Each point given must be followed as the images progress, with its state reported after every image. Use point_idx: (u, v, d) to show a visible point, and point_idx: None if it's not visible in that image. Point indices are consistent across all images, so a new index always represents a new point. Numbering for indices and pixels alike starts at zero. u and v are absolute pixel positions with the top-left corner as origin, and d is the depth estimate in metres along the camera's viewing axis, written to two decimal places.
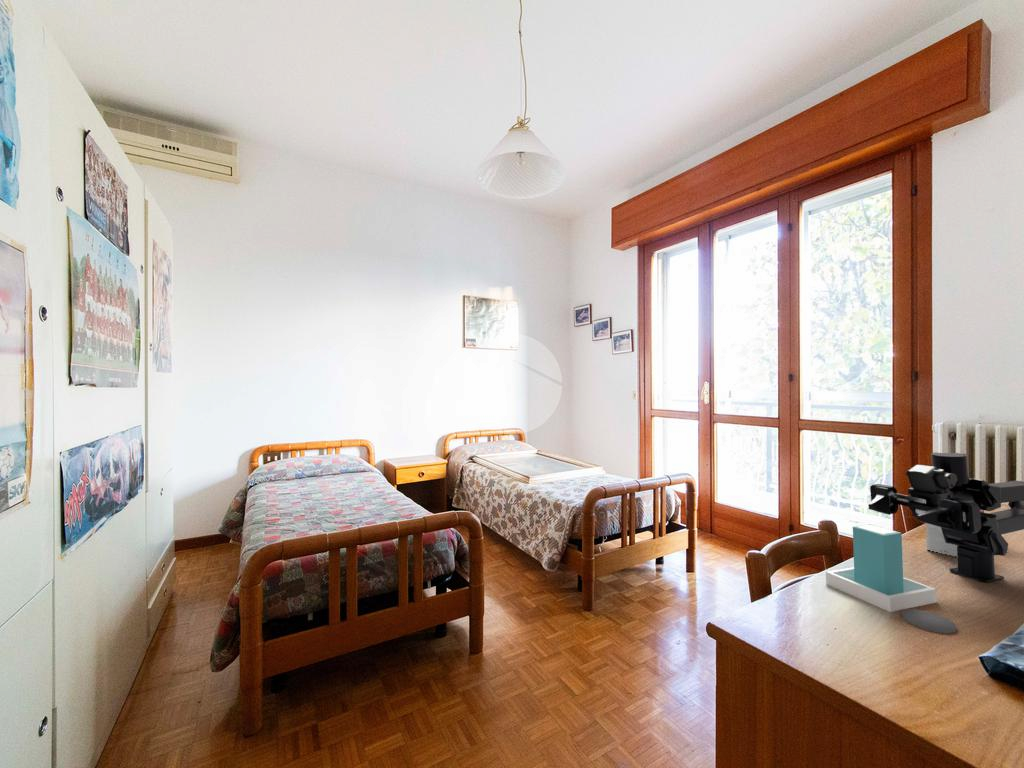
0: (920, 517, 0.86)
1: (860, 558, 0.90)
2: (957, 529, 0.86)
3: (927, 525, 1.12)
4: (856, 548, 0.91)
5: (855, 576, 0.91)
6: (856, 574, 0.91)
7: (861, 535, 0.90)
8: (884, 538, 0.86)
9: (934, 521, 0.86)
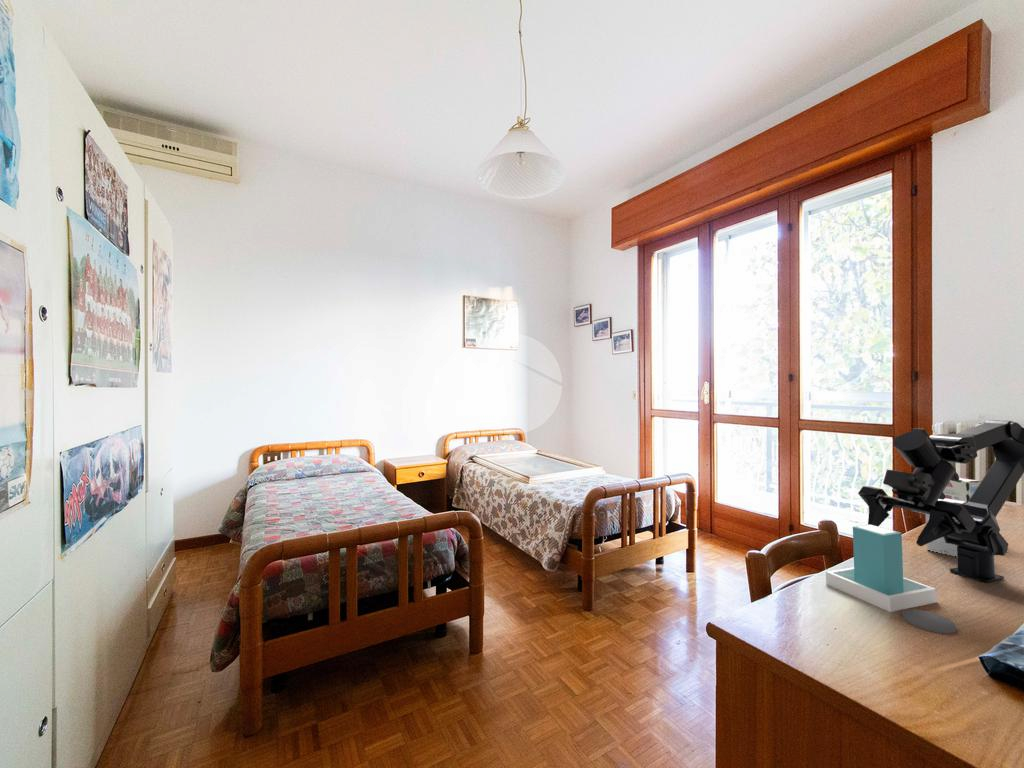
0: (920, 543, 0.86)
1: (860, 558, 0.90)
2: (956, 531, 0.86)
3: None
4: (856, 548, 0.91)
5: (855, 576, 0.91)
6: (856, 574, 0.91)
7: (861, 535, 0.90)
8: (884, 538, 0.86)
9: (933, 537, 0.86)
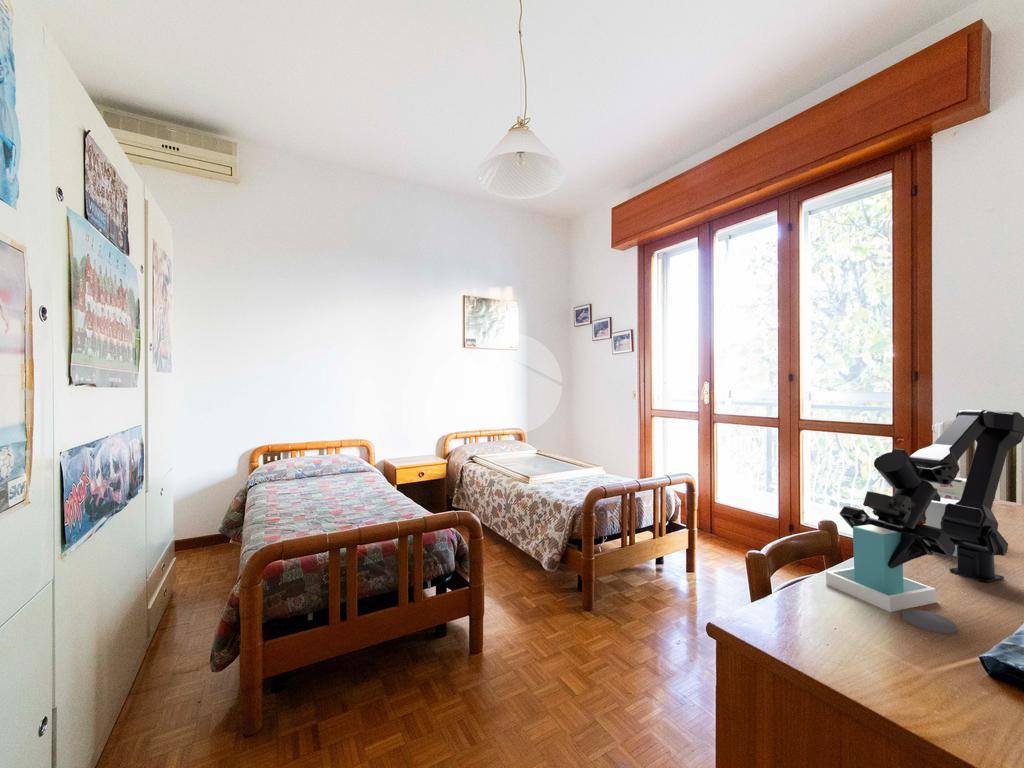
0: (891, 565, 0.86)
1: (860, 558, 0.90)
2: (927, 553, 0.85)
3: None
4: (856, 548, 0.91)
5: (855, 576, 0.91)
6: (856, 574, 0.91)
7: (861, 535, 0.90)
8: (884, 538, 0.86)
9: (905, 559, 0.86)
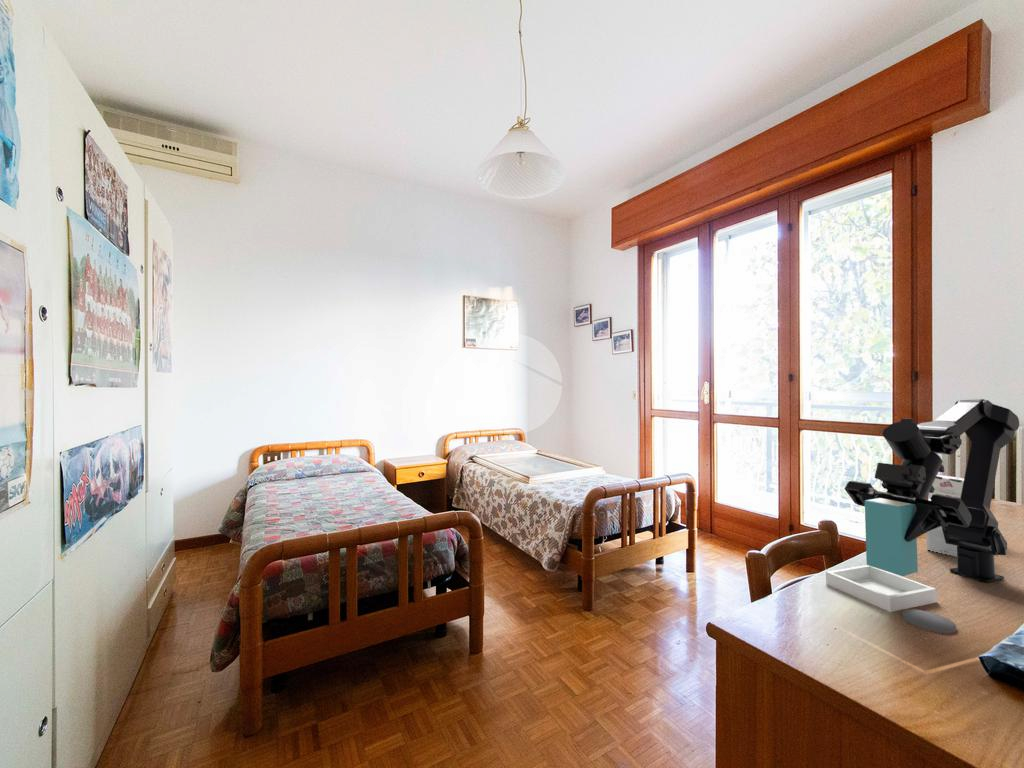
0: (908, 539, 0.81)
1: (873, 533, 0.86)
2: (941, 525, 0.82)
3: None
4: (869, 523, 0.86)
5: (867, 552, 0.87)
6: (868, 550, 0.86)
7: (874, 508, 0.86)
8: (901, 511, 0.82)
9: (920, 531, 0.82)
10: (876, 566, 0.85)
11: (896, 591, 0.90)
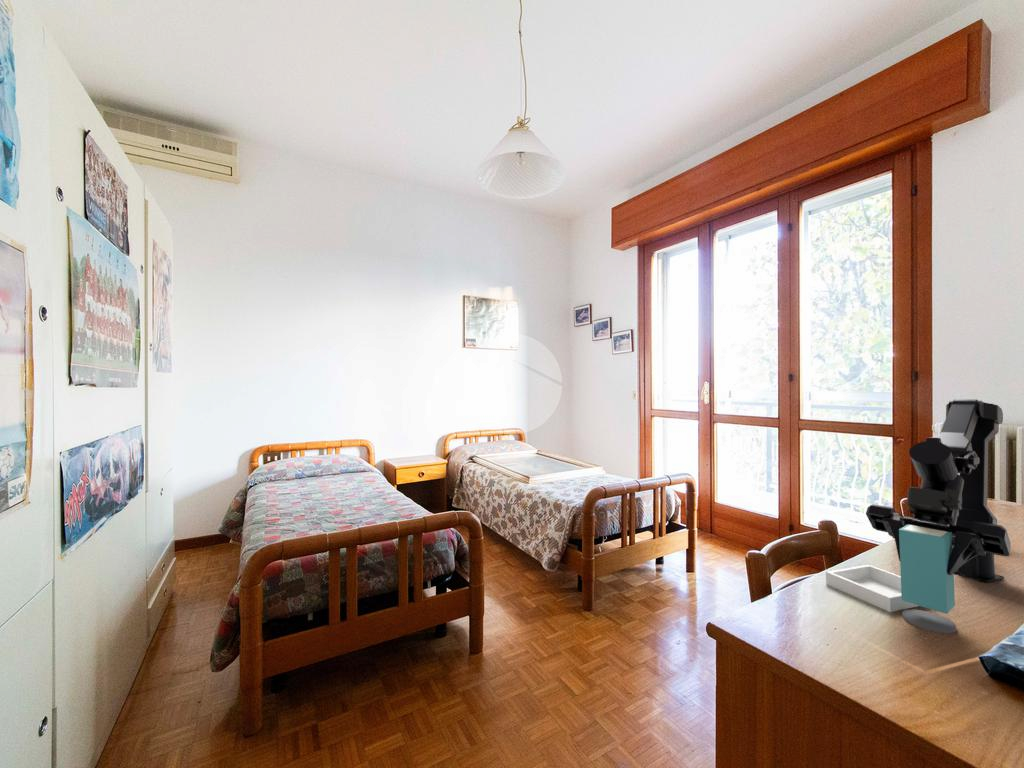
0: (951, 572, 0.74)
1: (910, 566, 0.78)
2: (979, 554, 0.76)
3: None
4: (905, 554, 0.79)
5: (902, 587, 0.79)
6: (904, 584, 0.79)
7: (911, 538, 0.78)
8: (944, 542, 0.74)
9: (960, 562, 0.75)
10: (913, 602, 0.78)
11: (896, 591, 0.90)
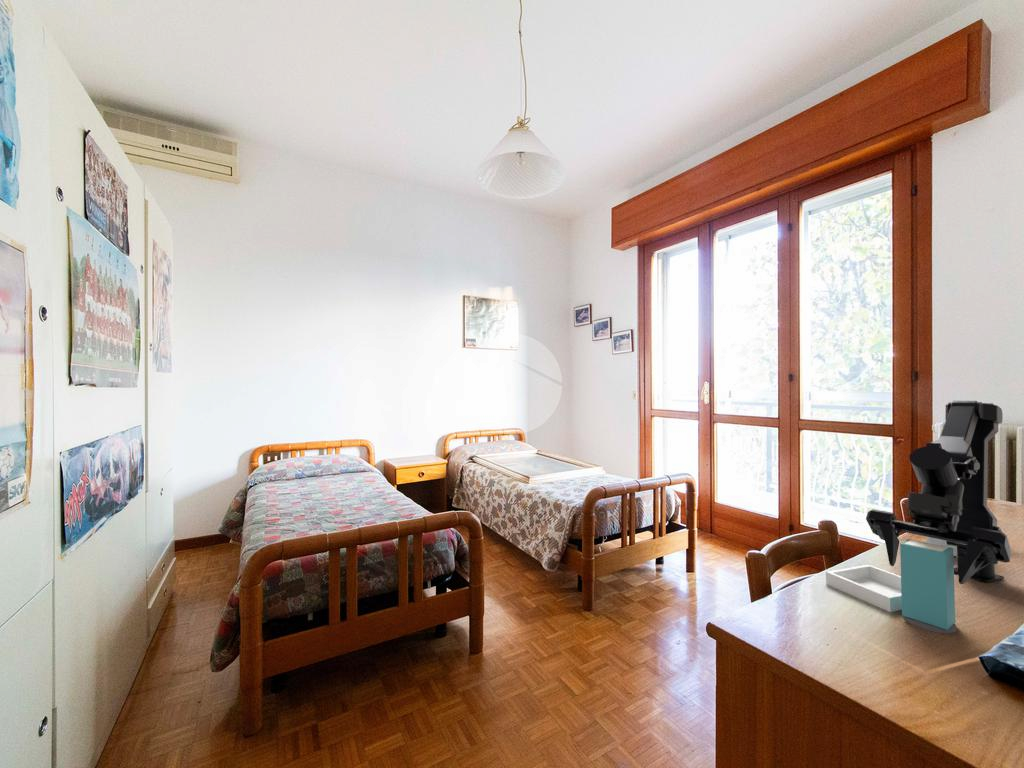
0: (962, 581, 0.73)
1: (911, 580, 0.78)
2: (991, 562, 0.75)
3: None
4: (905, 569, 0.79)
5: (903, 601, 0.79)
6: (904, 599, 0.79)
7: (912, 553, 0.78)
8: (945, 557, 0.75)
9: (972, 571, 0.74)
10: (914, 617, 0.77)
11: (896, 591, 0.90)
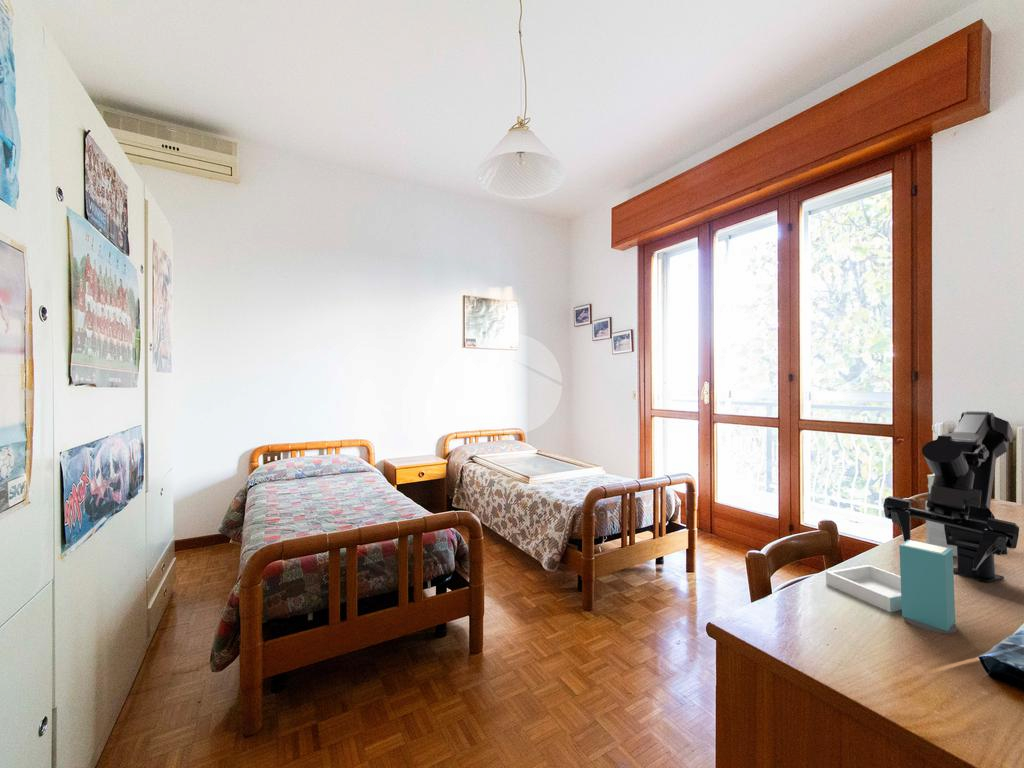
0: (976, 568, 0.79)
1: (910, 582, 0.78)
2: (998, 548, 0.81)
3: (927, 525, 1.12)
4: (905, 570, 0.78)
5: (903, 603, 0.79)
6: (904, 600, 0.79)
7: (911, 555, 0.78)
8: (945, 558, 0.74)
9: (983, 557, 0.80)
10: (914, 618, 0.77)
11: (896, 591, 0.90)
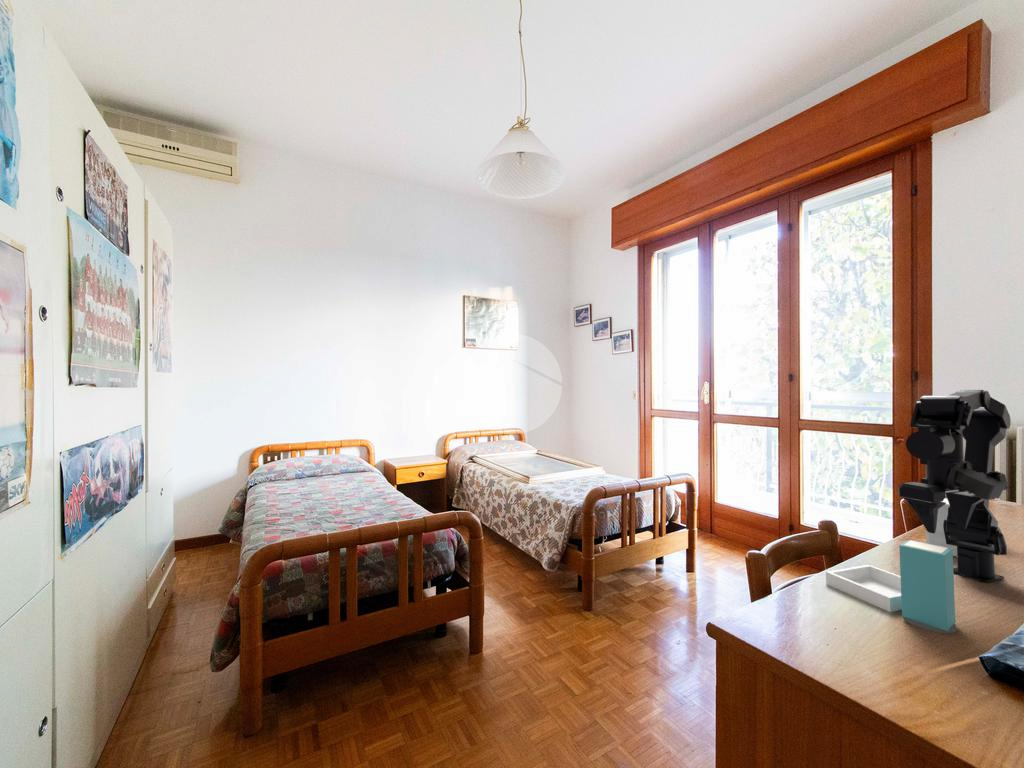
0: None
1: (910, 582, 0.78)
2: None
3: None
4: (905, 570, 0.78)
5: (903, 603, 0.79)
6: (904, 600, 0.79)
7: (911, 555, 0.78)
8: (945, 558, 0.74)
9: None
10: (914, 618, 0.77)
11: (896, 591, 0.90)
